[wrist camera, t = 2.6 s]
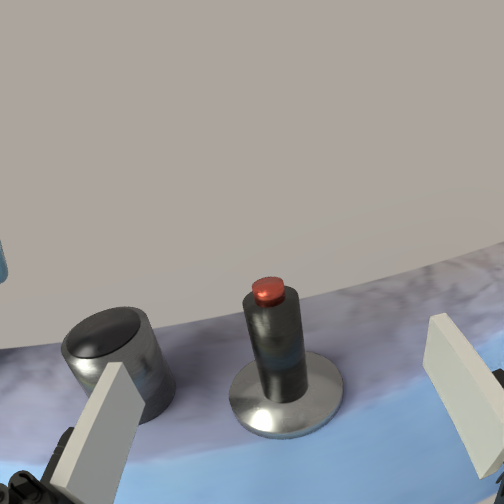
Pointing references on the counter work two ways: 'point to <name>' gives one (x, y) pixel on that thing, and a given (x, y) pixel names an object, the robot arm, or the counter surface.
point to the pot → (121, 355)
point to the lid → (282, 369)
